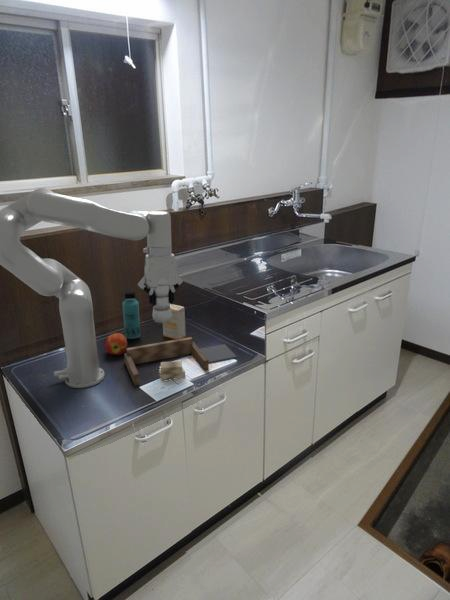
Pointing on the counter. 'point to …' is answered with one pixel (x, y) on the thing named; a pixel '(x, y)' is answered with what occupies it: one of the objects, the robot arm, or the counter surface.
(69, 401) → the counter surface
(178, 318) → the supplement box
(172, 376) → the bottom offcut
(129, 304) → the beverage bottle
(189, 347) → the frame
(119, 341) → the apple
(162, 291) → the plastic bottle
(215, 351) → the mat
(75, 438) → the counter surface
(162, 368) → the top offcut
